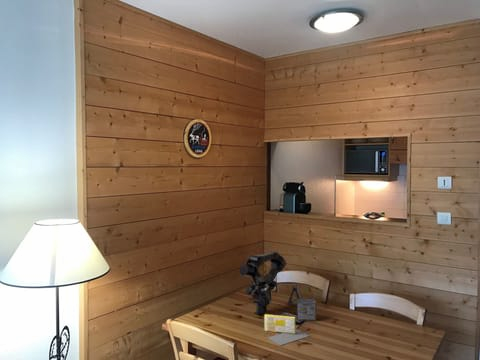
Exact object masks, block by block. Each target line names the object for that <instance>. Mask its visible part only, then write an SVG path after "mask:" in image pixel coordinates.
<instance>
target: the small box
mask: <svg viewBox="0 0 480 360" xmlns="http://www.w3.org/2000/svg"><path fill="white" fill-rule="evenodd" d="M296 301H297V305H296V320H297V321H300V320H302V321H305V322H306V321H307V322H308V321H310V322H317V301H316V299H314V298H313V299H311V298H308V299H307V298H302V299H297V298H296Z"/></svg>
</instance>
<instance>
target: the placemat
mask: <svg viewBox="0 0 480 360" xmlns="http://www.w3.org/2000/svg"><path fill="white" fill-rule="evenodd" d="M295 332H296V333H295V334H290V333H281V332H280V333H278V334H275V335H271V336H268V337H267V339H268V340H270V341H271V342H273V343H275V344H276V345H278V346H280V347H281V346H285V345H287V344H291V343H293V342H297V341H299V340H304V339H307V338H309V337H310V335H308V334H307V333H305V332H303V331H301V330H299V329H297V328H295Z"/></svg>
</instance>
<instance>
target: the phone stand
mask: <svg viewBox="0 0 480 360" xmlns="http://www.w3.org/2000/svg"><path fill="white" fill-rule="evenodd" d="M291 288H292V290H291V294H290V296H289V299H288V301H287V305H289V306H290V305H291V306H292V305H293V306H297V299H303V297H302V294H301V292H300V289H299V288H300V287H299V284H298V283H294V284H293V285H292V287H291ZM294 296H296V301H295V300H293V299H294Z"/></svg>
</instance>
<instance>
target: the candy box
mask: <svg viewBox="0 0 480 360" xmlns="http://www.w3.org/2000/svg"><path fill="white" fill-rule="evenodd" d="M263 316H264V331H265V332H272V333H273V332H274V333H280V334H281V333H290V334H295V333H296V332H295V329H296V317H295V316H287V315H276V314H265V315H263Z"/></svg>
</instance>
